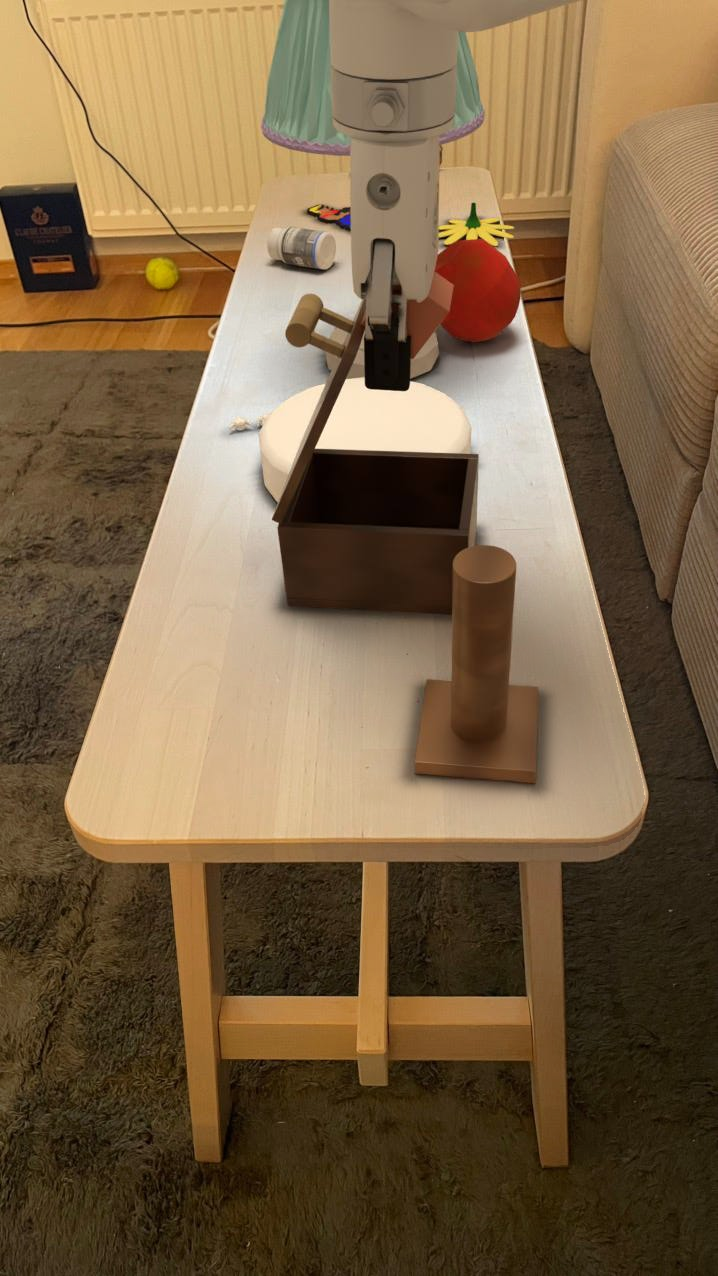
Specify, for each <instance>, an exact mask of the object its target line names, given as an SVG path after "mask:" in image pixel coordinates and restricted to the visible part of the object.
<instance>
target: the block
mask: <svg viewBox="0 0 718 1276" xmlns="http://www.w3.org/2000/svg"><path fill="white" fill-rule="evenodd" d="M453 287H454V285H453V284H452V283H450V282H449V281H447V280H446V279H445V278H443V277H442V276H440V275H439V274H438V273H436V272H435V271H434V275H433V279H432V283H431V287H430V291H429V294H428V296H427V297H426V299H425V300H423V301H422V302H417V300H413V299H409V300H408V323H407V336H411V359H414V358H415V356H416V355H417V354H418V352H419V351H420V350H421V348H422V347H423V346H424V344H425V343H426V342H427V341H428V339H429V338H430V337H431V335H432V334H433V333H434V331H435V332H436V330H437V329H438V328H439V326H441V325H440V324H441V322H442V321H443V320H444V318H445V317H446V316H447V315H448V313H449V311H450V305H451V299H452V293H453ZM392 291H393V292H402V286H401V285H392ZM391 310H392V313H396V314H397V318H398V316H399V304H391ZM361 325H362V326H364V327H365V328H366V310H365V313H364V316H363V319H362V323H361Z"/></svg>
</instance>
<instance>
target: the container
mask: <svg viewBox="0 0 718 1276" xmlns="http://www.w3.org/2000/svg"><path fill="white" fill-rule="evenodd" d="M325 385H326V382H325V383H322V384H317V385H314V386H311V387H308V388H307V389H305V390H302V391H300V392H298V393H296V394H294V395H292V396H290V397H288V398H287V399H285V400H284V401H283V402H282V403H281V404H279V405H278V406H277V407H276V408H275V409H273V410H272V411H271V412H270V413H269V415H268V417H267V419H266V421H265V423H264V425H262V427H261V429H260V430H259V433H258V440H259V441H258V442H259V453H260V460H261V468H262V474H263V475H262V476H263V481H264V482H263V483H264V486H265V488H266V490H267V491H268V492H269V493H270V494H271V496H272V497H273V499H274V501H276V502H277V503H278V501H279V499H280V496H281V493H282V491H283V488H284V485H285V483H286V480H287V477H288V475H289V472H290V469H291V467H292V464H293V461H294V459H295V456H296V453H297V451H298V448H299V445H300V443H301V440H302V438H303V436H304V433H305V431H306V429H307V426H308V424H309V422H310V419H311V417H312V415H313V412H314V410H315V408H316V405H317V403H318V401H319V398H320V396H321V394H322V392H323V389H324V387H325ZM315 449H343V450H373V451H402V452H432V453H462V454H472V426H471V423H470V421H469V418H468V416H467V414H466V411H465V410H464V408H462V407H461V406H460V405H459V404H458V403H457V402H455V401H454V400H453V399H452V398H451V397H450V396H448V395H447V394H446V393H444V392H442V391H439V390H437V389H435V388H433V387H431V386H428V385H426V384H423V383H420V382H415V381H411V380H410V387H409V389H408V390H407V391H390V390H374V389H368V388H366V386H365V377H362V378H353V379H346V380H345V382H344V385H343V387H342V389H341V391H340V393H339V396H338V398H337V400H336V402H335V405H334V407H333V409H332V411H331V414H330V416H329V418H328V420H327V423H326V425H325V427H324V429H323V432H322V434H321V436H320V438H319V441H318V443H317V445H316V447H315Z"/></svg>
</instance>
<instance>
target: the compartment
mask: <svg viewBox="0 0 718 1276" xmlns="http://www.w3.org/2000/svg"><path fill="white" fill-rule="evenodd" d="M479 455H480V454H479V453H471V454H462V453H432V452H402V451H373V450H343V449H315V450H314V452H313V454H312V456H311V459H310V461H309V463H308V465H307V467H306V470H305V472H304V474H303V476H302V479H301V481H300V483H299V485H298V488H297V490H296V492H295V494H294V497H293V499H292V501H291V503H290V506H289V508H288V510H287V512H286V515H285V517H284V519H283V521H282V523H281V524H280V523H278V524H277V527H276V528H277V529H276V530H277V535H278V543H279V550H280V551H279V552H280V558H281V559H280V560H281V566H282V567H281V568H282V573H283V582H284V590H285V596H286V604H287V606H289V607H290V606H291V607H309V608H325V609H344V610H359V611H360V610H361V611H363V610H364V611H379V612H394V613H395V612H397V613H412V614H413V613H414V614H415V613H416V614H431V615H448V616H452V580H453V560H454V558H455V557H456V555H457V554H458V553H459V552H461V551H462V550H464V549H466V548H469V547H472V546H476V537H477V528H478V527H477V526H478V525H477V524H478V522H477V521H478V519H477V518H478V495H479V494H478V489H479V461H480V460H479Z"/></svg>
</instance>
